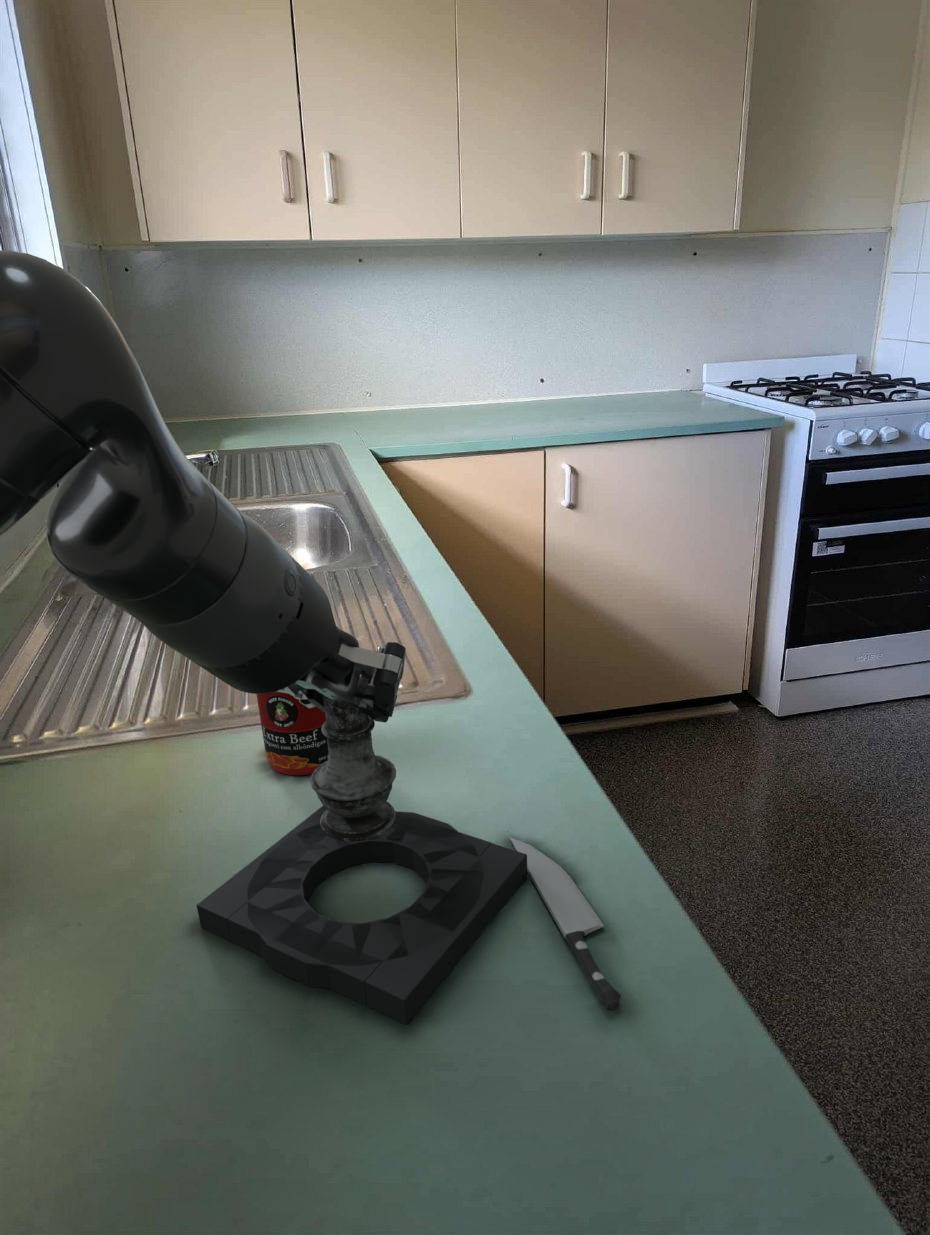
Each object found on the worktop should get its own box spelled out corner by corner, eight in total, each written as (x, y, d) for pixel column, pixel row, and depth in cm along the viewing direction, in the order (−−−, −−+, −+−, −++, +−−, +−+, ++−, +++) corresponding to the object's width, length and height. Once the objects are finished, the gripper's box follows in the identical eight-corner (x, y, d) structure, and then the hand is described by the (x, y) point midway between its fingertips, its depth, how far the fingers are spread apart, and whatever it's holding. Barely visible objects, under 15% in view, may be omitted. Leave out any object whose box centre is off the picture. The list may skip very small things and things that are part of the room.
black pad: (194, 932, 62) (190, 909, 61) (345, 809, 75) (343, 789, 75) (401, 1031, 53) (399, 1006, 52) (531, 871, 66) (530, 850, 66)
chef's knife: (543, 834, 71) (508, 839, 70) (544, 822, 71) (509, 827, 70) (651, 1008, 54) (606, 1018, 53) (652, 994, 53) (607, 1003, 53)
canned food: (252, 773, 82) (235, 666, 78) (290, 731, 89) (276, 631, 85) (327, 781, 80) (314, 672, 76) (360, 738, 87) (349, 636, 83)
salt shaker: (300, 835, 60) (278, 676, 55) (340, 790, 65) (323, 641, 60) (378, 850, 58) (361, 687, 53) (413, 802, 63) (400, 649, 58)
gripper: (98, 651, 46) (259, 742, 61) (329, 682, 41) (443, 773, 56) (147, 528, 49) (290, 644, 64) (371, 543, 44) (469, 665, 59)
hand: (361, 704), depth 60 cm, fingers closed on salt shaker, 3 cm apart
